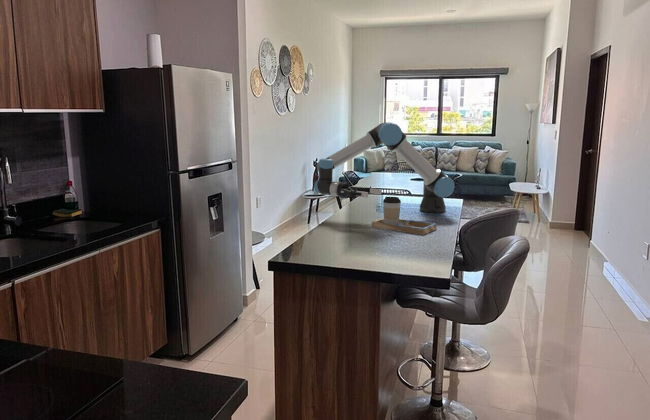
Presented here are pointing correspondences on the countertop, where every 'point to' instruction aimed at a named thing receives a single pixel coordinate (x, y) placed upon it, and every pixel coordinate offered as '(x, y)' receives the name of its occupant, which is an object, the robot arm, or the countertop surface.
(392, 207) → the coffee cup
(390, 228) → the oak rack
